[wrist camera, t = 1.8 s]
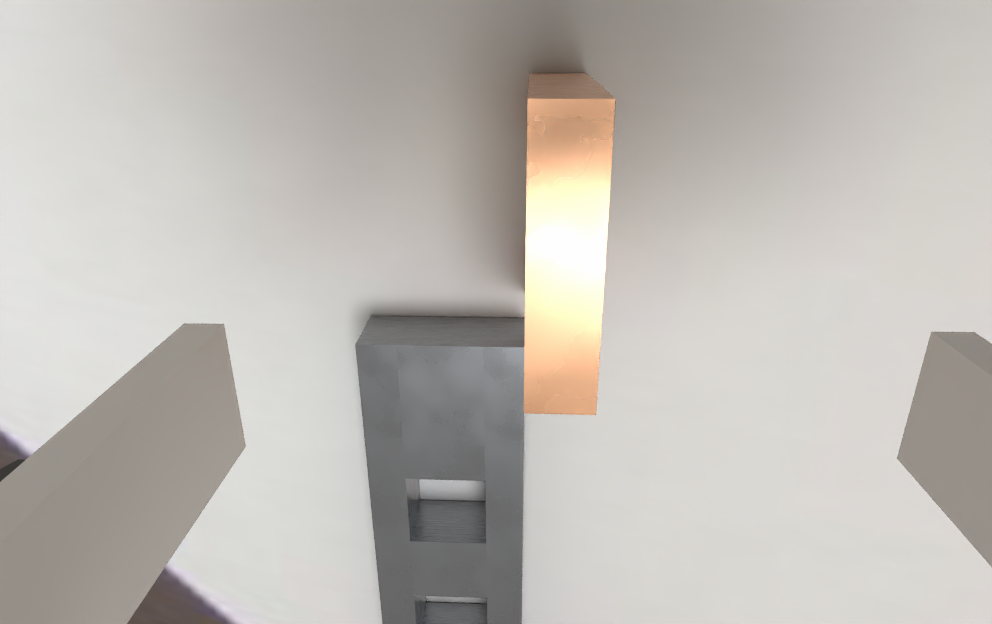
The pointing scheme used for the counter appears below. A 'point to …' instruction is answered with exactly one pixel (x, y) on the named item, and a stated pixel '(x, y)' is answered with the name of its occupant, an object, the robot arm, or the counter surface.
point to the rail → (445, 463)
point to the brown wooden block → (565, 239)
